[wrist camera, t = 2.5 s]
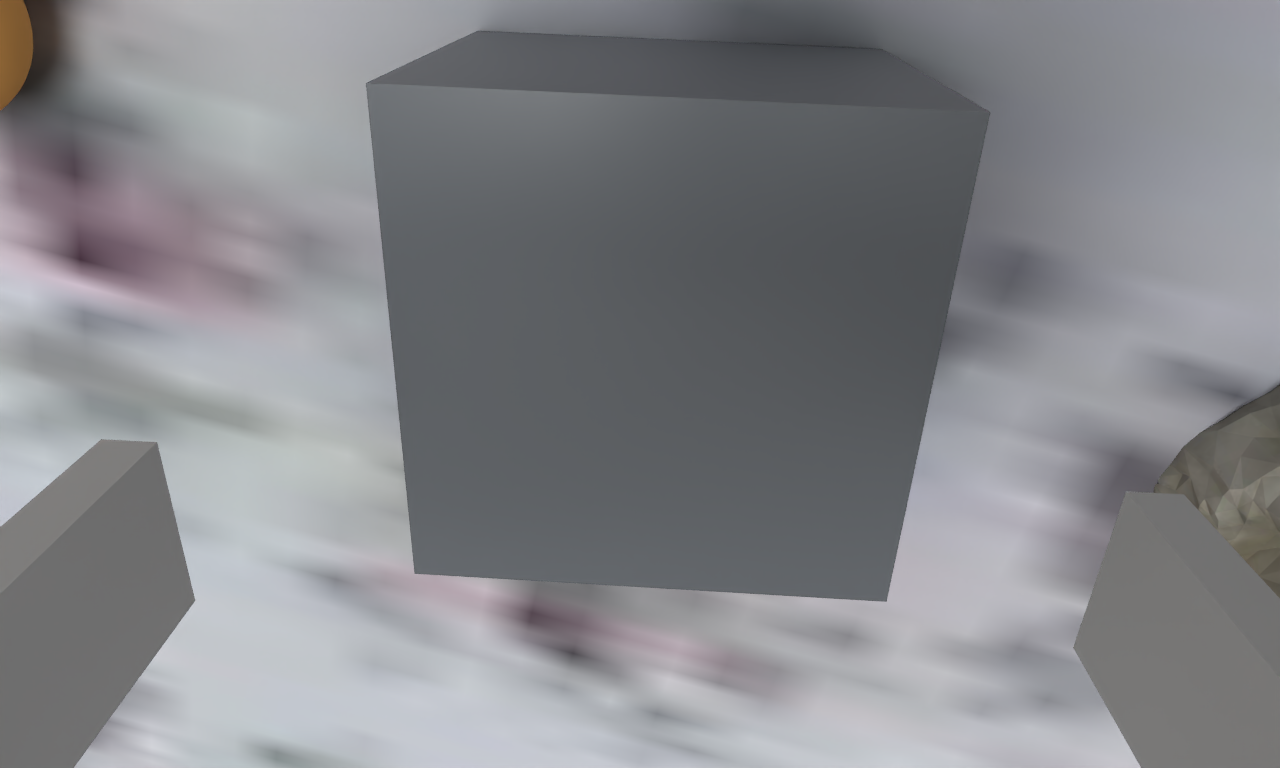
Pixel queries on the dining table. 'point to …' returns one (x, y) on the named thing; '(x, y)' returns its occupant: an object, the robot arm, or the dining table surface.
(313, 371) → the dining table surface
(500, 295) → the smooth grey cube
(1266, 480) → the ceramic cottage
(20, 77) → the ball
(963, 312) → the dining table surface
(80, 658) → the robot arm
